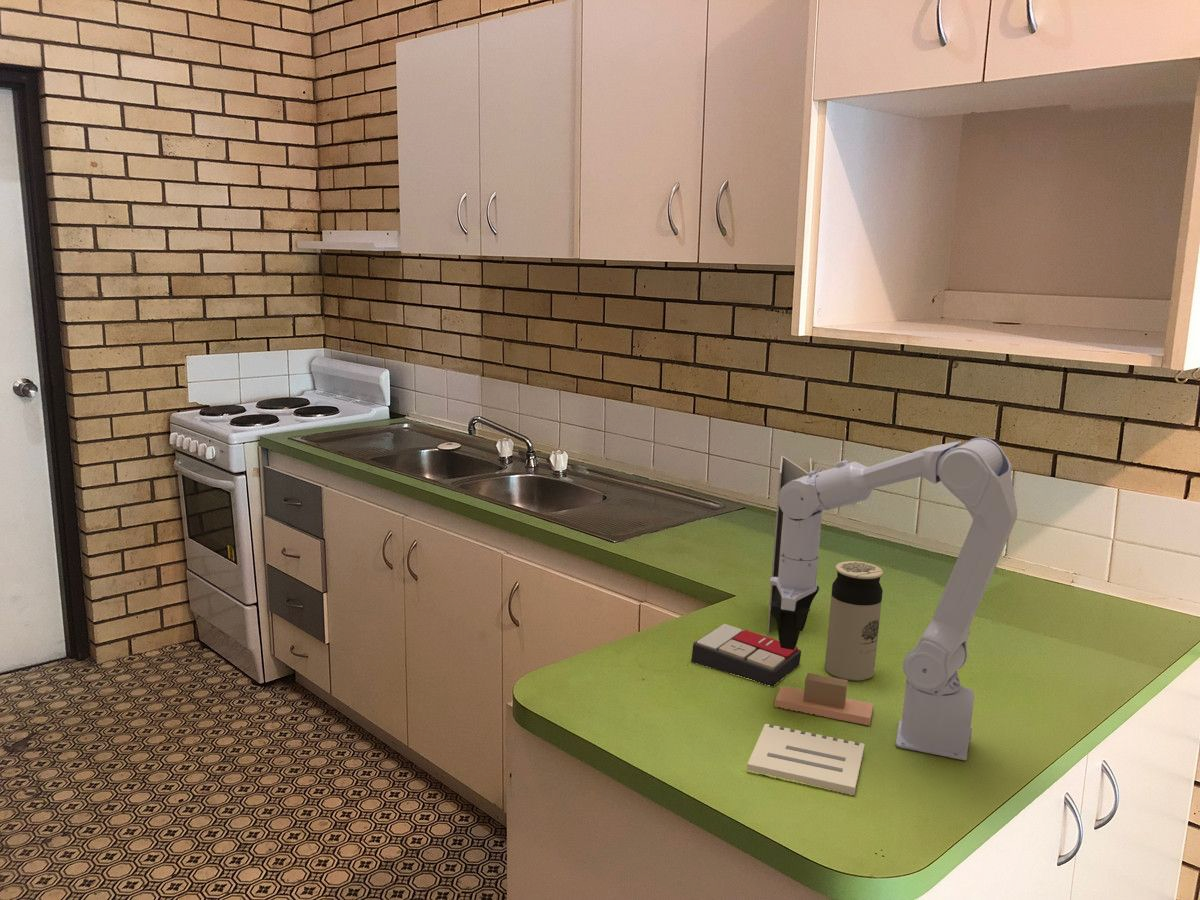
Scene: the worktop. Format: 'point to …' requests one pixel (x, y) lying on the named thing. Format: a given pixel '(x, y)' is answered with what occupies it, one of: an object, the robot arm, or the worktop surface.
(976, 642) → the worktop surface
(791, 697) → the pink block with handle
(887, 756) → the worktop surface
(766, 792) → the worktop surface
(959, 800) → the worktop surface
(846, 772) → the cream notepad
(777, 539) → the brochure
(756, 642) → the calculator
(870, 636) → the travel mug
